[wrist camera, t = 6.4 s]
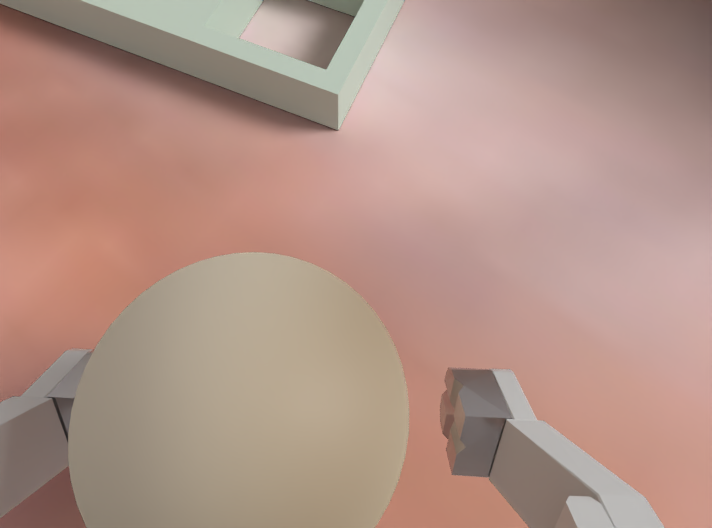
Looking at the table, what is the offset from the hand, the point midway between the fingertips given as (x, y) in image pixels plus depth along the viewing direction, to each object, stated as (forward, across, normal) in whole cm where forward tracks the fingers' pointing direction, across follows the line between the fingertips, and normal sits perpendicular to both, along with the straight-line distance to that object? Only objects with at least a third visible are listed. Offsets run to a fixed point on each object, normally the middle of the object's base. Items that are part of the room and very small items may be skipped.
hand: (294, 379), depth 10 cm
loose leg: (+4, 0, +5) cm, 7 cm away
